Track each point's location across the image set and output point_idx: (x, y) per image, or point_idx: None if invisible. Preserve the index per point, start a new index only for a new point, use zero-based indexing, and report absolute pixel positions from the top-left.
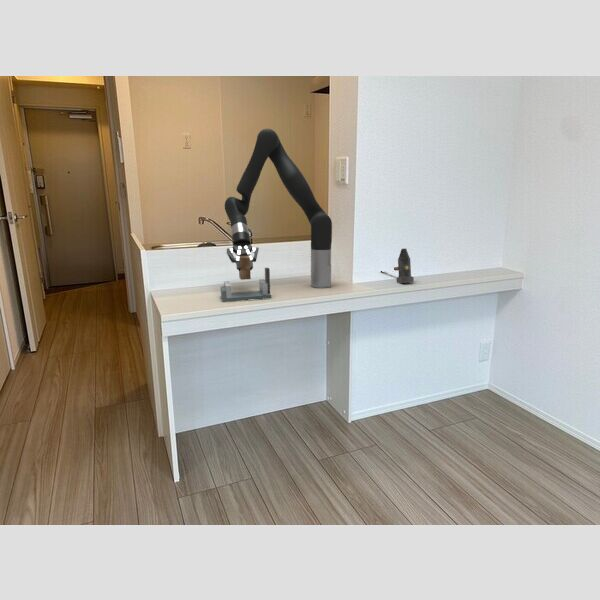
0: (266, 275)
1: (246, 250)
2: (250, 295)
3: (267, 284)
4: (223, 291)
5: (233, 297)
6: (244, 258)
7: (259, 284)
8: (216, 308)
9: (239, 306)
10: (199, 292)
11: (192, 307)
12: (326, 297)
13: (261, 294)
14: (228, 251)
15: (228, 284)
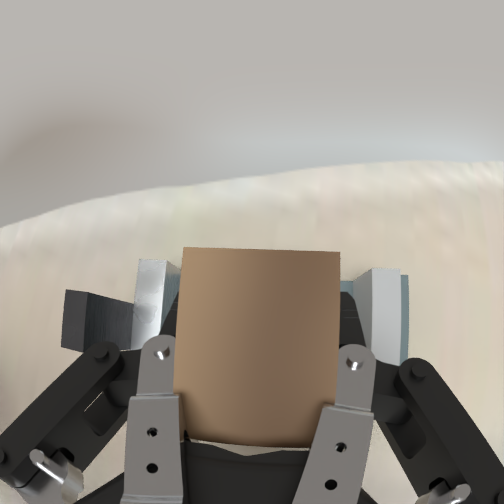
0: (111, 298)
1: (170, 479)
2: None
3: (142, 260)
4: (402, 275)
5: (342, 285)
6: (271, 253)
7: None
8: (410, 192)
9: (322, 189)
10: None
11: (485, 237)
12: (6, 229)
13: None
14: (493, 468)
15: (382, 312)
